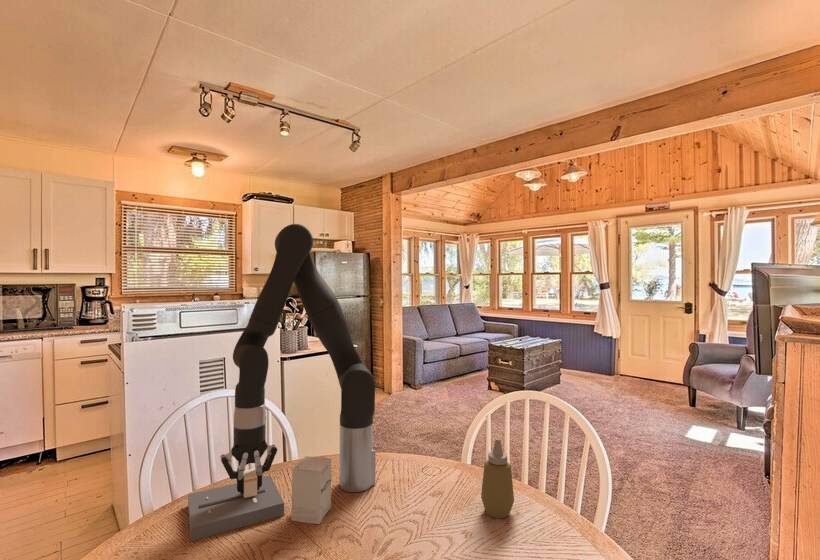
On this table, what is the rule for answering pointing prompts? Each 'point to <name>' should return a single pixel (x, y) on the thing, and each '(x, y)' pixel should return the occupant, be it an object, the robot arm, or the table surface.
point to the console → (231, 508)
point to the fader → (250, 483)
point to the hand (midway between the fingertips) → (249, 490)
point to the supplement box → (311, 489)
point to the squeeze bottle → (497, 483)
